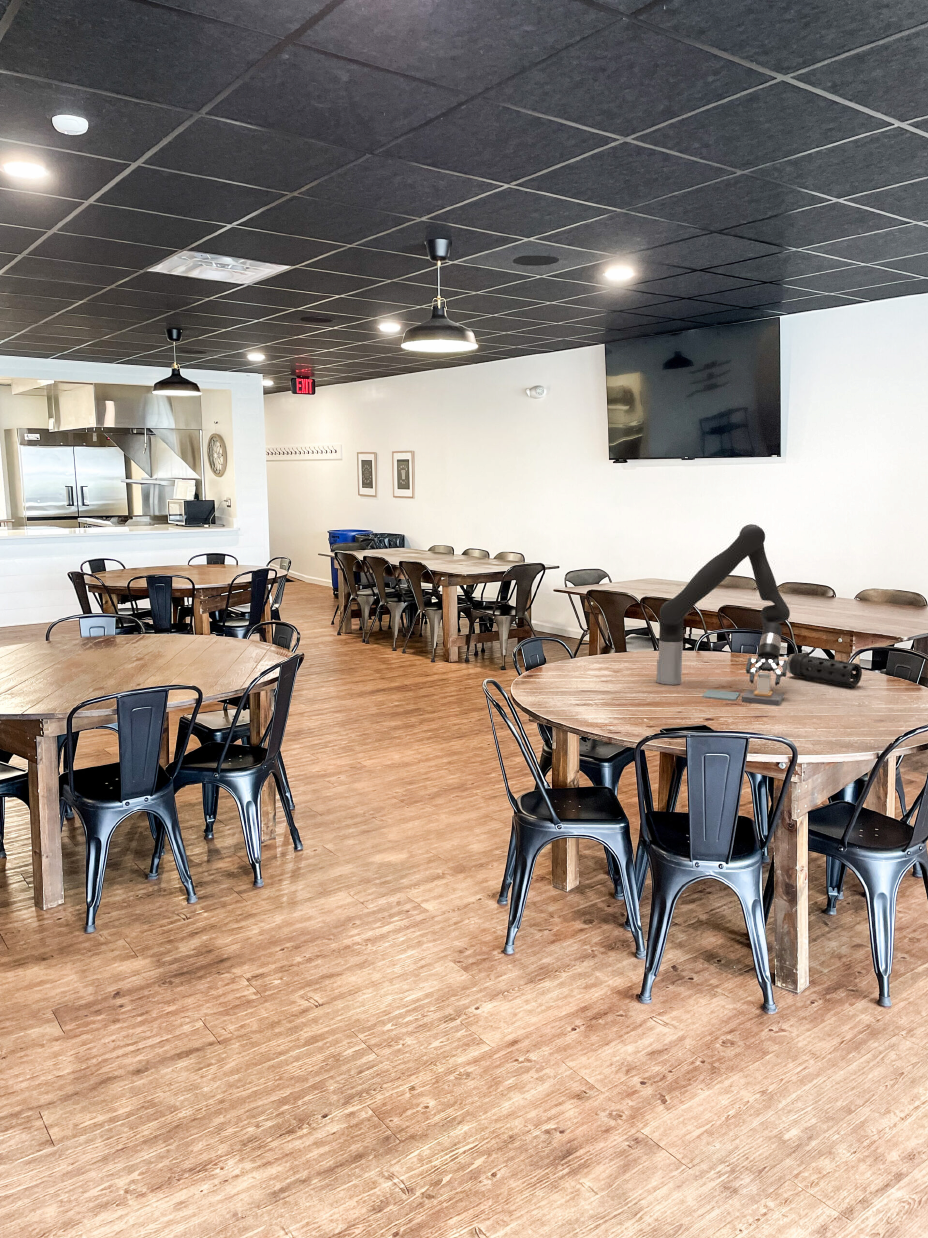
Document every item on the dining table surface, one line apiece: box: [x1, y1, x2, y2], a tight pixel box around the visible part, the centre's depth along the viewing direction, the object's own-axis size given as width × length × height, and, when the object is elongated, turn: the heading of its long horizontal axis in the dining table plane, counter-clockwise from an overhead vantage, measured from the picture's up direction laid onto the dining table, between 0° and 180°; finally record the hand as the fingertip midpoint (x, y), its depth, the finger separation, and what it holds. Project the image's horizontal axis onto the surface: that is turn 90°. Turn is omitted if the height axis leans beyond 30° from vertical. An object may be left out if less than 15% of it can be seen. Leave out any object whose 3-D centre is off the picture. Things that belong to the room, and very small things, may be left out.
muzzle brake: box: [786, 652, 863, 689], centre depth 350 cm, size 10×28×10 cm, turn 37°
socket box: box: [741, 689, 785, 707], centre depth 321 cm, size 13×13×2 cm
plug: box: [754, 671, 774, 697], centre depth 320 cm, size 6×6×10 cm
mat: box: [701, 688, 741, 702], centre depth 328 cm, size 12×12×1 cm
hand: (764, 683), depth 320 cm, fingers open, 8 cm apart
